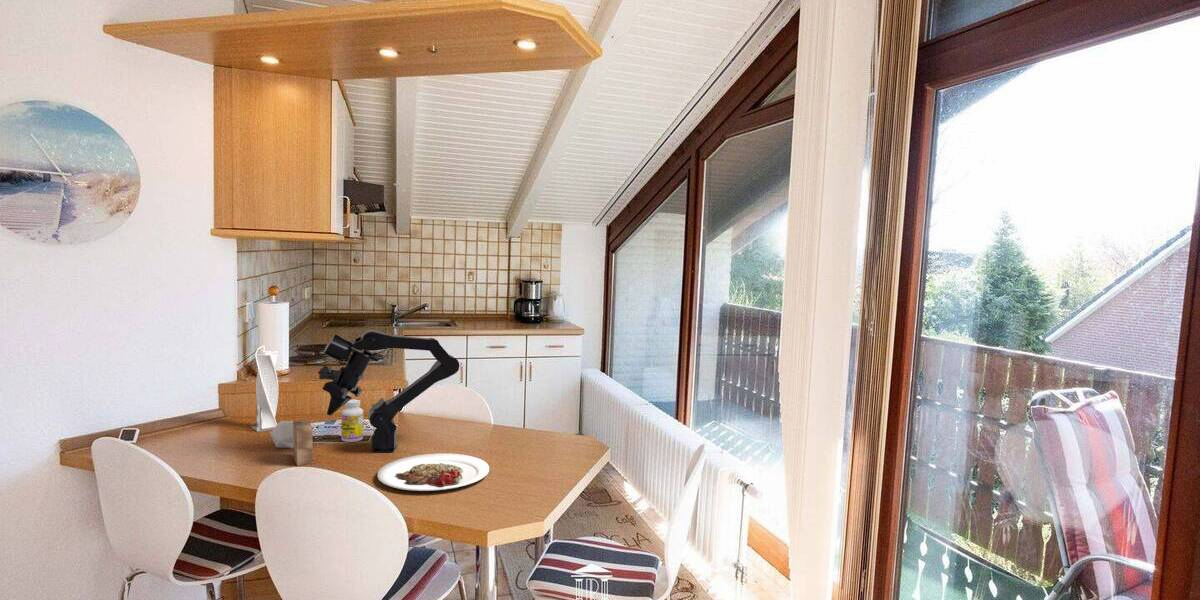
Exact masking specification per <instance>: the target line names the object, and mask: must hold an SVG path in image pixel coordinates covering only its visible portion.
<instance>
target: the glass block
mask: <svg viewBox="0 0 1200 600" xmlns="http://www.w3.org/2000/svg"><path fill="white" fill-rule="evenodd" d="M292 421H293V448H292V449H293V450H292V451H293V454H292V455H293V459H294V462H295V464H296V466H297V467H303V466H309V465H311V466H312V465H314V464H313V461H314V459H313V456H314V454H313V426H312V424H311V422H310V420H309V419H302V420H292Z"/></svg>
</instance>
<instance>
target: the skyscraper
mask: <svg viewBox="0 0 1200 600" xmlns="http://www.w3.org/2000/svg"><path fill="white" fill-rule="evenodd" d="M262 348H263V349H262ZM260 349H262V351H261V353H258V351H259V350H260ZM279 353H280V352H279V351H276V350H275V351H273V352H272V350H266V346H265V345H261V346H260V347H258V348H257V349H256V351H255V353H254V358H255V362H256V365H257V374H256V380H255V395H256V396H255V397H256V420H255V424H256V425H252V426H251V429H253V430H254V431H255V432H256V433H260V432H261V433H262V432H266V431H268V432H269V431H272V430H273V429H274V428H275V427H276V426H277V424H278V423H277V420H276V414H277V410H278V403H279V378H278V374H277V370H276V366H277V361H278V358H279Z"/></svg>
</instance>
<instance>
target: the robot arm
mask: <svg viewBox="0 0 1200 600" xmlns="http://www.w3.org/2000/svg"><path fill="white" fill-rule="evenodd" d="M387 349H400V350H401V349H403V350H415V351H417V350H418V351H429V352H430V353H431V355H432V356H433V358H435V360H436V361H435V362H434V363H433V365H432V366H431V367H430V368H429V370H428V371H427V372H426V373H424V374H423V375H421V376H420V377H418V379H416V380H415V381H413V382H412V383H410V384H409V385H408V386H406V387H405V388H404V389H402V390H401V391H400V392H399V393H397V394H396V395H394V396H393V397H392V398H390V399H387V400H385V399H384V397H381V398H380V399H379V400H378V401H377V402H375V403H374V404H371V408H369V410H368V412H367V419H368V421H369V423H370V426H372V427H373V428H375V429H374V430H373V434H372V435H371V449H372V450H371V452H372V453H394V452H395V451H396V450H397V448H398V447H399V445H398V444H397V424H396V423H395V421H394V418H395V417H396V415H397V414H398V412H399V411H400V410H401V409H402V408H404V407H406V405H408V404H409V403H411V402H412V401H413V400H414V399H416V398H418V397H419V396H420V395H421V394H423V393H424V392H425V391H427V390H428V389H429V388H431V387H432V386H433V385H435V384H436V383H437V382H440V381H443V380H445V379H449V378H450V377H452V376H454V375H456V374H457V373H458V372H459V371H460V370H459V369H460V362H459V360H458V359H457V358H456V357H454V356H453V355H451V354H449V353H448V352H447V351H446V349H444V347H443V346H442V345H441V344H440V341H439V340H437V339H435V338H434V337H420V336H419V337H417V336H405V335H393V334H389V333H386V332H383V331H378V330H375V329H367V330H365V331H364V332H362V333H361V335H360V336H359V337H356V338H353V339H352V340H348V339H346V338H344V337H342V336H341V335H339V334H338V333H334V334H333V336H332V337H331V339H330V341H328V342H327V344H326V346H325V348H324V349H323V352H322V354H324V355H325V356H328V357H329V358H332V359H334V360H336V361H338V362H342V361H347V360H348V361H347V362H346V364H345V365H344V366H341V367H340V368H339V369H332V366H329V365H324V366H323V367H322V368H320V369H319V371H318V372H317V373H318V374H319V376H318V379H319V380H330V381H327V382H325V383H324V385H323V386H322V389H321V390H323V391H324V392H327V393H329V396H330V399H329V405H328V408H327V413H326V415H328V416H332V415H334V413H336V412H337V411H339V410H340V409H341V408H342V407H344V406H345V404H346V403H347V402H348V401H350V400H353V397H351V396H350V394H353V395H354V396H355V398H357V397H360V396H361V393H362V388H361V386H359V385H358V383H359V381H360V380H361V379H363V378H364V376H365V375H364V373H365V371H366V369H367V368H368V366H369V365H370V362H371V361H374V362H376V363H377V362H379V359H378V356H377V354H378V353H377V352H376V351H380V350H381V351H383V350H387ZM370 351H374V352H370Z"/></svg>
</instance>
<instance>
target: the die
mask: <svg viewBox="0 0 1200 600" xmlns="http://www.w3.org/2000/svg"><path fill="white" fill-rule="evenodd" d="M293 421H294V420H280V421H279V422H278V423H277V426H276V427H275V428H274V429H273V430H270V432H269V435H270V437H271V438H272V441H273V443H274V446H275V447H276V448H281V449H282V448H283V449H284V448H286V449H289V448H290V449H291V448H292V449H293Z"/></svg>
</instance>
